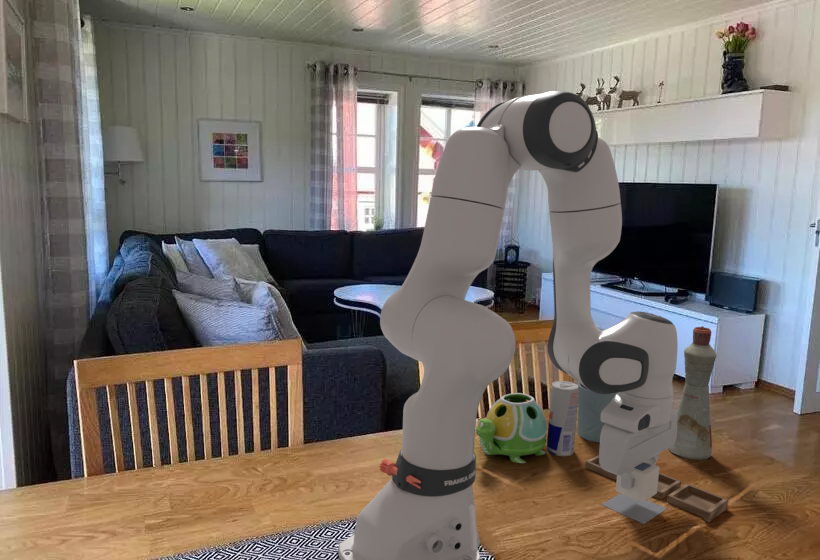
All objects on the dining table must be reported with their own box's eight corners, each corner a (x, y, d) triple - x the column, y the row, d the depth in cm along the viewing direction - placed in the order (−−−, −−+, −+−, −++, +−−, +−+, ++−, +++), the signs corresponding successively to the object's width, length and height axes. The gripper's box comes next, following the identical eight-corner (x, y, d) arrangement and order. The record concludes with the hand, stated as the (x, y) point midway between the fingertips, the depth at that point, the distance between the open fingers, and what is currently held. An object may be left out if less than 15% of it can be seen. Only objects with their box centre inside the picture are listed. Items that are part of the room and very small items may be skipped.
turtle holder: (454, 455, 130) (457, 399, 128) (513, 435, 142) (517, 383, 140) (498, 478, 121) (502, 419, 119) (558, 455, 132) (562, 400, 130)
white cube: (642, 502, 107) (644, 473, 106) (615, 491, 111) (618, 463, 110) (656, 493, 111) (659, 465, 110) (630, 482, 114) (633, 455, 113)
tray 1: (618, 484, 120) (619, 475, 120) (584, 469, 126) (585, 461, 125) (638, 473, 125) (639, 464, 125) (605, 459, 130) (605, 451, 130)
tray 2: (660, 502, 114) (661, 493, 114) (623, 486, 119) (624, 477, 119) (680, 490, 119) (681, 481, 118) (643, 475, 124) (644, 466, 124)
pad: (643, 527, 105) (643, 523, 105) (601, 507, 111) (601, 504, 111) (666, 511, 111) (667, 508, 111) (625, 493, 117) (625, 490, 116)
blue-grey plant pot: (566, 437, 141) (570, 385, 139) (584, 424, 149) (588, 375, 147) (611, 450, 135) (616, 396, 133) (627, 436, 143) (632, 385, 141)
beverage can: (571, 448, 136) (576, 381, 133) (575, 459, 130) (581, 389, 128) (544, 446, 136) (549, 379, 134) (547, 457, 131) (553, 387, 128)
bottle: (657, 450, 136) (670, 323, 132) (682, 442, 141) (696, 319, 136) (694, 466, 129) (709, 332, 124) (719, 457, 134) (735, 328, 129)
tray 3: (708, 522, 108) (709, 512, 107) (666, 504, 113) (667, 495, 113) (726, 508, 112) (728, 499, 112) (686, 492, 118) (687, 483, 118)
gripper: (656, 389, 117) (649, 459, 120) (594, 414, 104) (588, 492, 106) (690, 398, 113) (682, 471, 115) (630, 426, 99) (622, 508, 102)
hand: (636, 482), depth 110 cm, fingers closed on white cube, 5 cm apart
